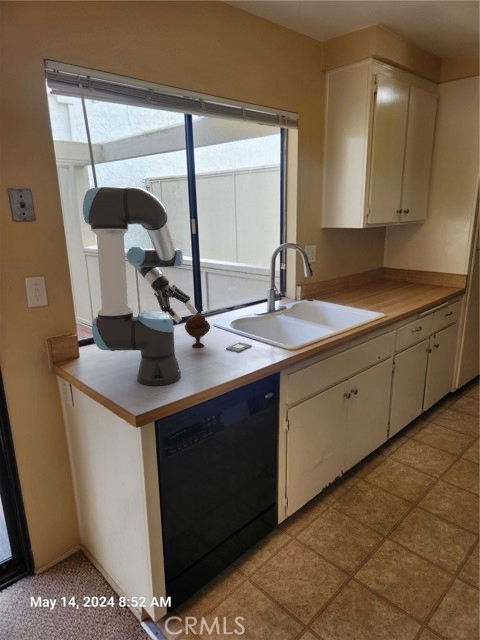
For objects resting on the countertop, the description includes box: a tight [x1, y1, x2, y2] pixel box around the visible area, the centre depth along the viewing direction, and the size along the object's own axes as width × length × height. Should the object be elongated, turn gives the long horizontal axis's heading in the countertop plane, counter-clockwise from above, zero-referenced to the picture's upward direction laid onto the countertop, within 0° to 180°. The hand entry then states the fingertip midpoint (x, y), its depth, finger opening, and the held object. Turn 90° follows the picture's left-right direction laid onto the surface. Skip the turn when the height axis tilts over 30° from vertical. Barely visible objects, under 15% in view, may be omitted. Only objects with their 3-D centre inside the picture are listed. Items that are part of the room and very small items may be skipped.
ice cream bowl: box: [184, 312, 211, 349], centre depth 176 cm, size 11×11×15 cm
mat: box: [225, 342, 253, 353], centre depth 176 cm, size 10×7×1 cm
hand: (188, 317), depth 178 cm, fingers open, 13 cm apart
